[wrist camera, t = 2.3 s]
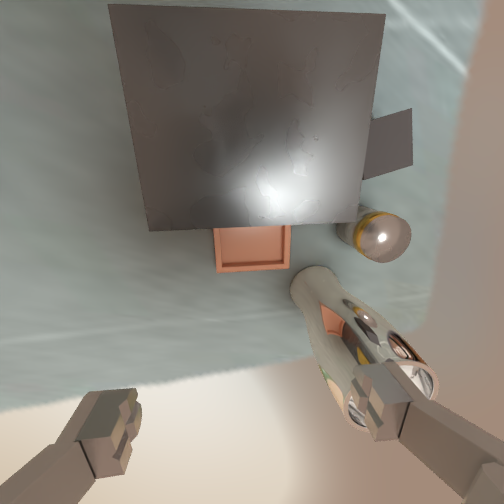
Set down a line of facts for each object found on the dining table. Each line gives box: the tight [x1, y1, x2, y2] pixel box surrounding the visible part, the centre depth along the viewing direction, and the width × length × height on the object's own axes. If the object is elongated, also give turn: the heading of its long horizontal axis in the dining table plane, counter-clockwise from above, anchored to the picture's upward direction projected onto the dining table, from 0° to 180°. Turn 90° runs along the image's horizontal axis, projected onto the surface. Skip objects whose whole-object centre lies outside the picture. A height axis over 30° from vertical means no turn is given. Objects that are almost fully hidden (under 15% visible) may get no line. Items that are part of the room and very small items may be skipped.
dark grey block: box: [108, 4, 386, 231], centre depth 16 cm, size 9×10×14 cm
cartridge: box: [336, 206, 411, 263], centre depth 24 cm, size 5×5×6 cm
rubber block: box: [362, 108, 413, 180], centre depth 22 cm, size 4×4×5 cm
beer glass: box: [290, 266, 439, 432], centre depth 22 cm, size 7×7×15 cm
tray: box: [213, 225, 291, 273], centre depth 25 cm, size 8×8×2 cm
